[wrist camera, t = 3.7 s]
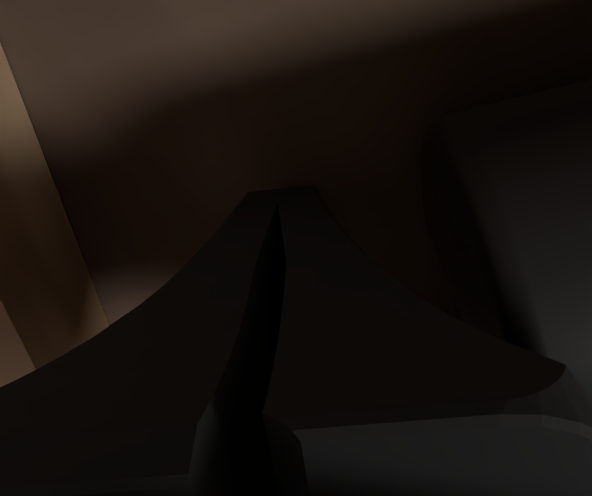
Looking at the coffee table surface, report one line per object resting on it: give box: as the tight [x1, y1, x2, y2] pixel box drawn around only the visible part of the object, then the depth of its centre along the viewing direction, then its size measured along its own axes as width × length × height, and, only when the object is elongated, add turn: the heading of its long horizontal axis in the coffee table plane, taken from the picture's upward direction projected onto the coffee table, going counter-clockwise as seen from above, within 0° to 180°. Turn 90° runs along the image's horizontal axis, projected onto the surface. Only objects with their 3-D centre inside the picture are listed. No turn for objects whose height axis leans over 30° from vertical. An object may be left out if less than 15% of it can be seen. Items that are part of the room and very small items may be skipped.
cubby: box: [0, 43, 109, 387], centre depth 10 cm, size 12×20×3 cm, turn 96°
